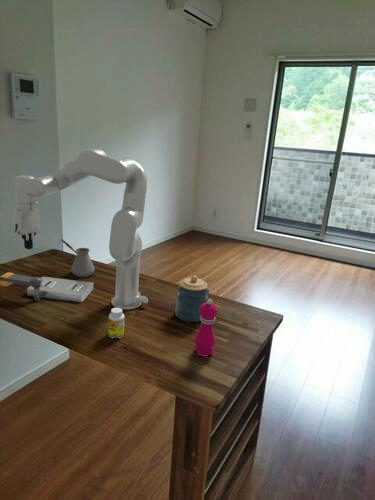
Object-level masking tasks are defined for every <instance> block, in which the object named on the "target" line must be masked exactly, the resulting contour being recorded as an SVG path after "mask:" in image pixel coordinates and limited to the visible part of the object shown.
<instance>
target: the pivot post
mask: <svg viewBox="0 0 375 500" xmlns="http://www.w3.org/2000/svg"><path fill="white" fill-rule="evenodd" d="M33 299H34V300H33V301H35V302H40V301H41V297H40V287H38V288H34V296H33Z"/></svg>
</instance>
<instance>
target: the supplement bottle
mask: <svg viewBox="0 0 375 500" xmlns="http://www.w3.org/2000/svg"><path fill="white" fill-rule="evenodd" d="M107 325H108V328H107V332H108V333H107V334H108V337H109V338H110V337H111V339H113V338H119V339H122V338H123V337H124V335H125V314H124V313H123V309H121V308H116V307H113V308H111V310H110V313H109V315H108V324H107ZM122 336H123V337H122Z"/></svg>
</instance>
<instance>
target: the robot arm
mask: <svg viewBox="0 0 375 500" xmlns="http://www.w3.org/2000/svg"><path fill="white" fill-rule="evenodd" d="M89 177H94V178H97V179H100V180H103V181H106V182H109V183H111V184H117V185H119V184H120V185H121V184H124V183H125V188H124V192H123V196H122V197H123V199H122V206H121V208H120V210H118V211H116V213H115V214H114V215H113V217H112V221H111V226H110V235H109V242H108V243H109V245H108V249H109V250H108V251H109V254H110V256H111V257H112V258H113V259H114V260H115V262H116V264H115V292H114V293H115V294H114V297H112V298H111V305H112V306H113V308H121V309H122V310H134V309H136V308H139V307H140V306H141V304H142V303H144V304H148V303H149V298H147V296H146V295H145V296H144V295H141V292H140V291H139V285H140V284H139V281H140V279H139V278H140V265H141V263H140V262H141V255H142V248H143V247H142V246H143V241H142V237H141V235H139V233H138V232H137V229H139V228H140V227H141V226H142V224H143V222H144V213H145V207H146V206H145V205H146V197H147V196H146V195H147V190H148V189H147V188H148V179H147V174H146V172H145V170H144V168H143V167H142V166H141V165H140V163H138V162H137V161H136V160H134V159H131V158H127V157H126V158H119V159H115V158H112V157H108V155H107V153H106V152H105V151H104V150H103V149H100V148H90V149H89V148H88V149H84V150H82V151H81V152H80V153H79V154H78V155H77V156H76V157H75V158H71V159H70V160H68V161H67V162H65V163H64V165H63V168H61V169H59V170H58V171H55V172H53V173H52V174H49V175H45V176H41V177H34V176H33V175H25V174H23V175H22V174H21V175H17V176H15V179H14V186H15V202H16V209H14V213H13V222H12V223H13V225H12V226H13V232H14V233H15V237H16V238H21V239H22V240H23V244H24V245H23V246H24V248H25V249H26V250H32V249H34V242H33V240H34V239H35V237H36V235H38V234H40V230H41V217H40V213H39V210H38V208H37V206H39V202H37V198H44V197H46V196H49V195H55V194H56V193H58V192H61V191H63V190H64V189H67V188H69V187H71V186H73V185H75V184H77V183H79V182H80V181H81V182H82V181H83V180H85V179H87V178H89Z"/></svg>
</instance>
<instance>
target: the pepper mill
mask: <svg viewBox="0 0 375 500" xmlns="http://www.w3.org/2000/svg"><path fill="white" fill-rule="evenodd" d="M200 314H201V316H200V321H201V322H200V328H199V329H198V331H197V332H196V334H195V336H194V343H195V347H194V351H196V352H197V353H198V354H201V355H210V354H212V353H213V354H214V347H215V346H216V340H217V339H216V336H215V333H214V329H213V327H214V326H213V325H214V323H215V321H216V316H217V315H218V307H217V305H216V304H215V303H213V300H212V299H211V298H208V300H207V302H206V303H203V304H202V305H201V307H200ZM196 352H195V353H196ZM198 354H197V355H198ZM213 354H212V355H213Z"/></svg>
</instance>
